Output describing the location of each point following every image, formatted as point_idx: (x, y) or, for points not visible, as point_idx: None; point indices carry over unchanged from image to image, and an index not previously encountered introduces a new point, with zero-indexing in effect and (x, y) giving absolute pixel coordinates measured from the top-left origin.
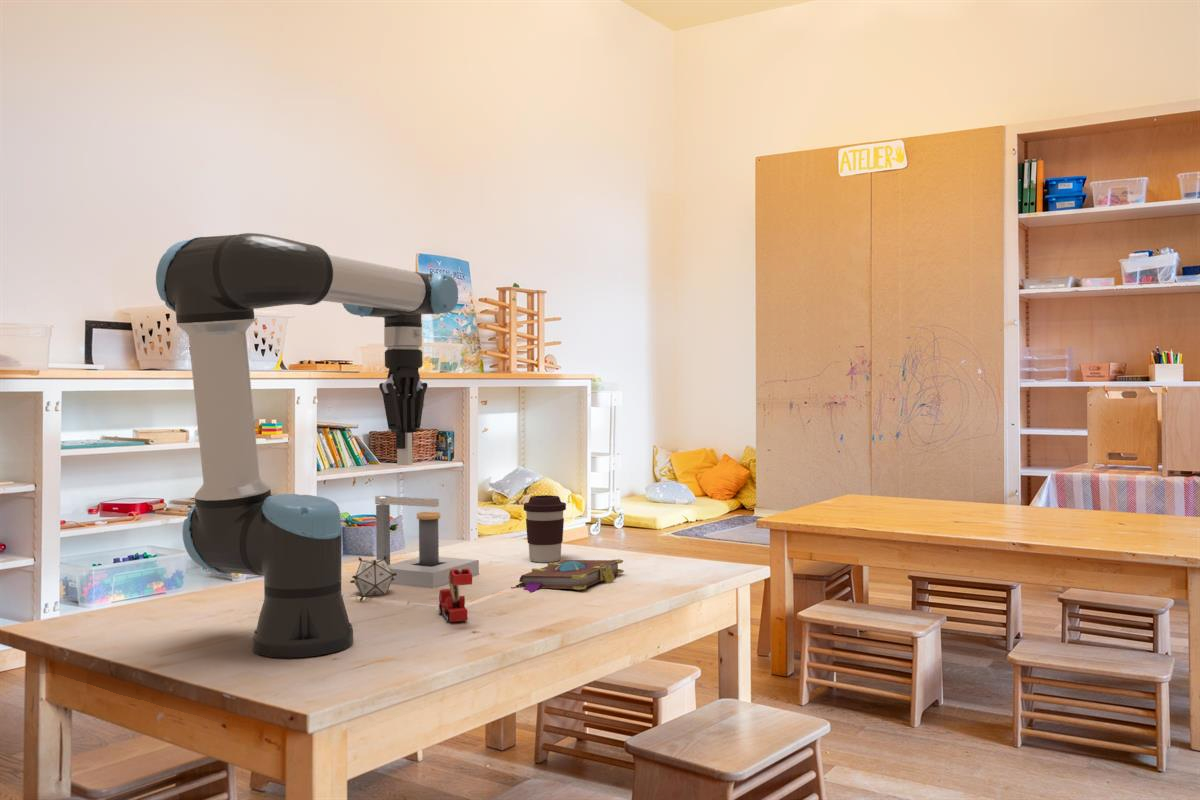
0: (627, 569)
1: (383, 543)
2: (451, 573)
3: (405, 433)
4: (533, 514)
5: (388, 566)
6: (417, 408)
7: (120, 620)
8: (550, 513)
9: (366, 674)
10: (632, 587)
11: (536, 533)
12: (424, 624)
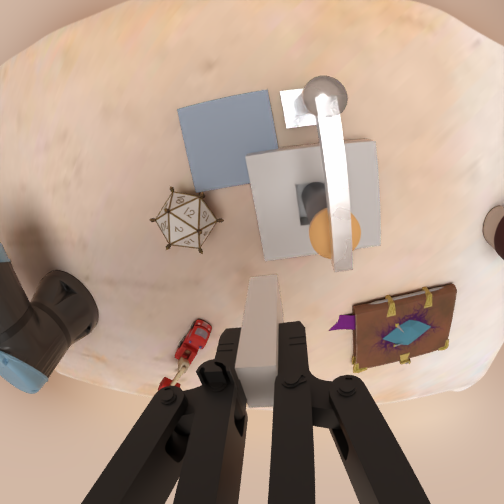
0: (465, 325)
1: (301, 113)
2: (160, 386)
3: (246, 399)
4: None
5: (198, 240)
6: (362, 499)
7: (7, 109)
8: None
9: (84, 364)
10: (388, 373)
11: (502, 244)
12: (162, 332)
